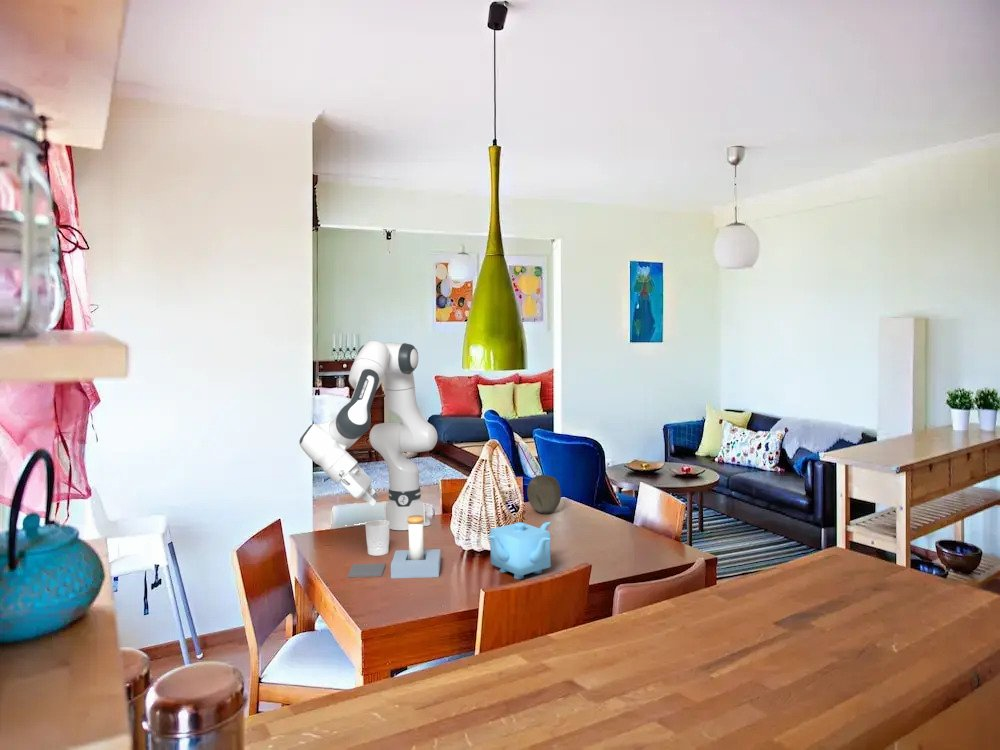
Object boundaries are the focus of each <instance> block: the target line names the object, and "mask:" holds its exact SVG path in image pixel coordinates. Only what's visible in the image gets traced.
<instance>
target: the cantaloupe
mask: <svg viewBox="0 0 1000 750" xmlns="http://www.w3.org/2000/svg"><path fill="white" fill-rule="evenodd" d="M526 493H527V494H526V496H527V500H528V501H529V505H530V507H532V508H533V509H534V510H535V511H536V512H538V513H541V514H542V515H543V514H544V515H548V514H551V513H553V512H554V511H555V510H556V509H557V508H558V507H559V504H560V502H561V498H562V490H561V485H560V483H559V481H558V480H557V479H556V477H554V476H552V475H547V474H540V475H537V476H534V477H533V478H532V479H531V480H530V481H529V483H528V485H527V489H526Z"/></svg>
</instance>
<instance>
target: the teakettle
mask: <svg viewBox="0 0 1000 750" xmlns="http://www.w3.org/2000/svg"><path fill="white" fill-rule="evenodd" d="M551 523H552V521H546V522H544V523H542V525H540V527H536V526H534V525H531V524H528V523H525V522H520V521H518V522H515V523H511V524H507V525H502V526H498V527H495V528H490V531H489V533H490V535H487V536H486V538H488V539H490V541H489V543H490V544H489V545H490V564H491V565H492V566H495V567H496V568H499V570H498V572H499V573H501V574H502V573H505V574H506V573H509V572H510V573H512V574H513V578H514V579H516V580H521V579H524V578H525V575H528V574H531V573H533V574H536V575H538V574H542V573H543V571H542V570H546V569H549V568H551V566H552V565H551V563H552V562H551V532H550V530H547V529H548V527H549V526H550V524H551Z"/></svg>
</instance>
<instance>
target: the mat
mask: <svg viewBox="0 0 1000 750" xmlns="http://www.w3.org/2000/svg"><path fill="white" fill-rule="evenodd" d="M386 565H387V563H383V562H382V563H355V564H352V566H351V568H350V570H349V572H348V574H347V578H370V577H371V578H372V577H374V578H376V577H377V578H379V577H382V576H383V574H384V571H385V568H386Z"/></svg>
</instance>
